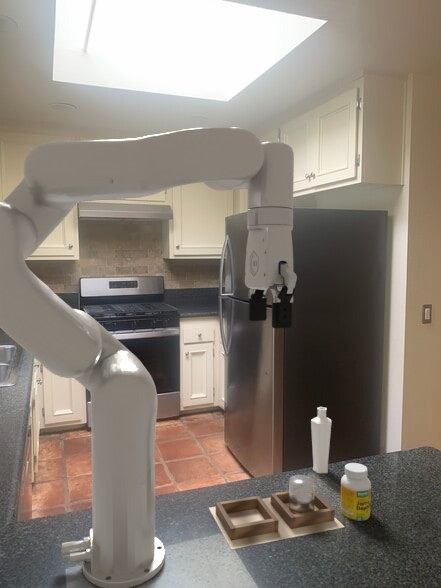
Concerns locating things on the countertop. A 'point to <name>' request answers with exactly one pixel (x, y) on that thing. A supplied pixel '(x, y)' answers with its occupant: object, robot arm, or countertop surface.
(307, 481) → the silver cylinder
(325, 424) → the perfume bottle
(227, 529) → the socket board
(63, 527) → the countertop surface
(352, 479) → the supplement bottle
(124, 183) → the robot arm
